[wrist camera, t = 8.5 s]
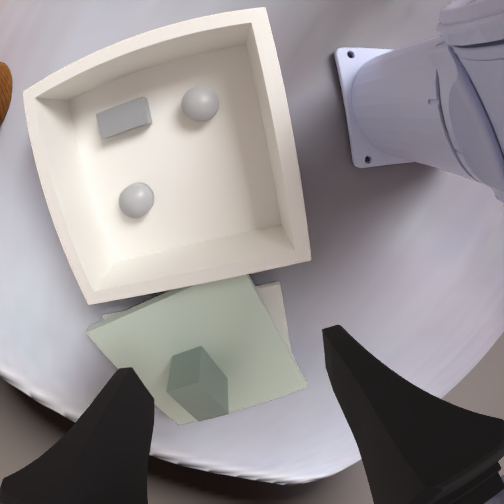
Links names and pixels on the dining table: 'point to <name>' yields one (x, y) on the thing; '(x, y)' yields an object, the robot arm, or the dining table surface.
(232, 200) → the tub
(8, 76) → the disposable coffee cup
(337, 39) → the dining table surface
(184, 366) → the lid
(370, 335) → the dining table surface
